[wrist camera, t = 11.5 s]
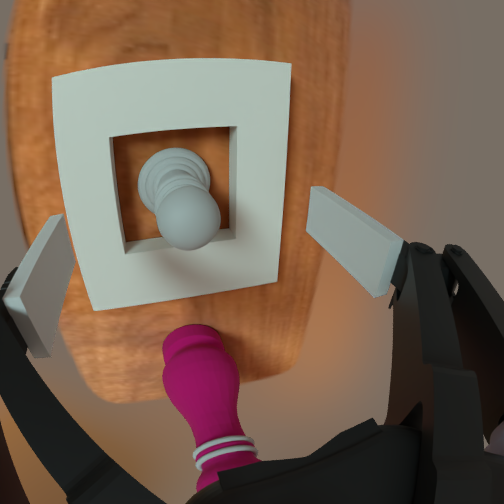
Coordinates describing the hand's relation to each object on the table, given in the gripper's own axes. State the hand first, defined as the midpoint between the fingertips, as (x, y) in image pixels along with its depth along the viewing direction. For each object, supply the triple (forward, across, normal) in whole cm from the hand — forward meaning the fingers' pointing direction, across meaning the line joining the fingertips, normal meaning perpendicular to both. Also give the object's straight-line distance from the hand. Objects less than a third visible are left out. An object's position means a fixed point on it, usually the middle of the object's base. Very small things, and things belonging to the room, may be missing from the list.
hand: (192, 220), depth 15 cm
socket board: (+8, 0, 0) cm, 8 cm away
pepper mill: (+8, 0, -17) cm, 19 cm away
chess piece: (+8, 0, 0) cm, 8 cm away
